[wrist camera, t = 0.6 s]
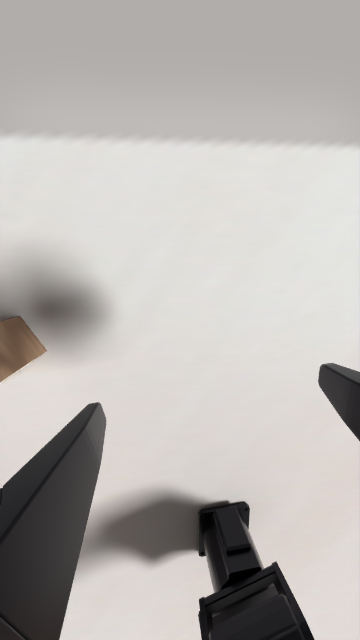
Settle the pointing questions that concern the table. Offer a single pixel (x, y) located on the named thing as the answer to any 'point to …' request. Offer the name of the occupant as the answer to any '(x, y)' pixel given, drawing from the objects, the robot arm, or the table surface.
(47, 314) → the table surface
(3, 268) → the table surface
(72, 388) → the table surface
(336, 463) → the table surface
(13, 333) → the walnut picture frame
